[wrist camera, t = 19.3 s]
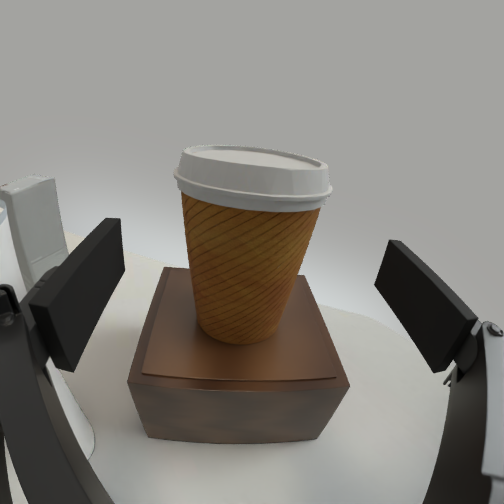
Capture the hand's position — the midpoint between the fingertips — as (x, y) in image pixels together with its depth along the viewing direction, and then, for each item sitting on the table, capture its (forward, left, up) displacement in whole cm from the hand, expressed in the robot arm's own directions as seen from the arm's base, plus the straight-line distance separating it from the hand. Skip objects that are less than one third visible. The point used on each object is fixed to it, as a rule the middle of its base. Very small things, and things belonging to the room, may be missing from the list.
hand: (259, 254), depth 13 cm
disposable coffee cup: (-2, -5, -8) cm, 10 cm away
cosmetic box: (+18, -25, -16) cm, 35 cm away
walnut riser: (-2, -5, -16) cm, 17 cm away
